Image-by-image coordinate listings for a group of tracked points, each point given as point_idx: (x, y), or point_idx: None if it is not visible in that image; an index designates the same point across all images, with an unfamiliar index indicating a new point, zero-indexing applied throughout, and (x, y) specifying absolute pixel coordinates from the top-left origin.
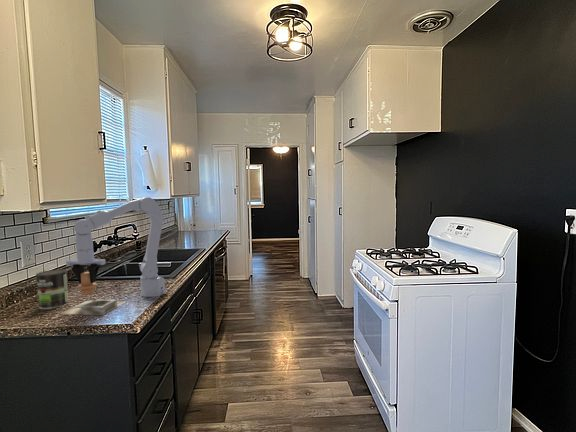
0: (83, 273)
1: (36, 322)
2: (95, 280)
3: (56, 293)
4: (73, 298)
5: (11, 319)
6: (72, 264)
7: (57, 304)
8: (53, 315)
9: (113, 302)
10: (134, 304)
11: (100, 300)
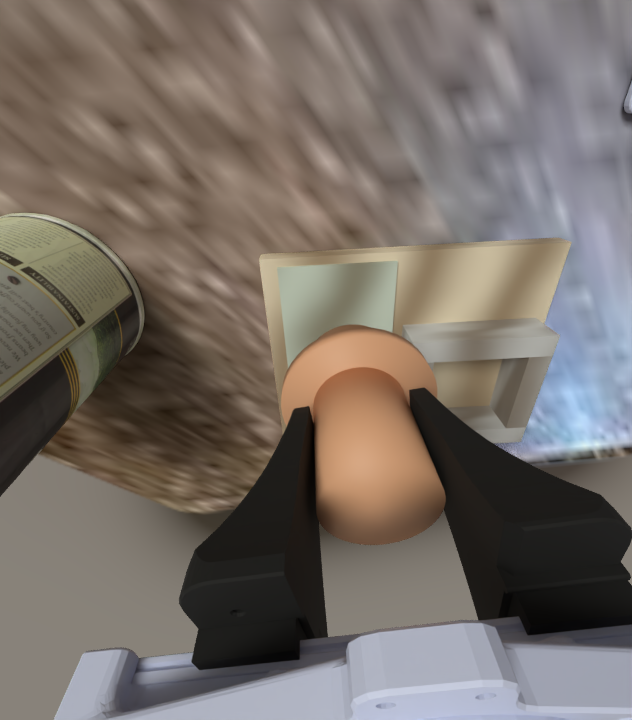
0: (361, 526)
1: (242, 471)
2: (431, 395)
3: (94, 383)
4: (25, 141)
5: (97, 463)
6: (186, 683)
7: (132, 341)
8: (238, 415)
9: (545, 361)
10: (617, 230)
11: (452, 359)
